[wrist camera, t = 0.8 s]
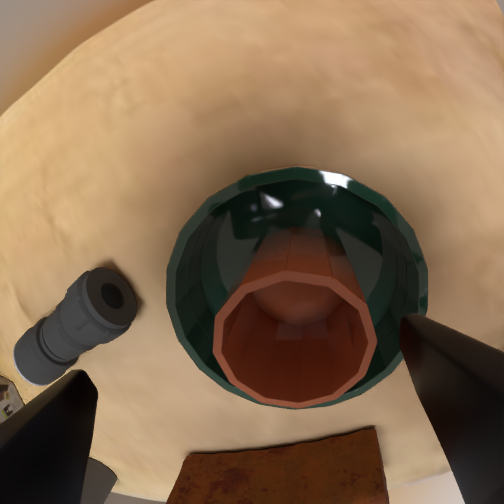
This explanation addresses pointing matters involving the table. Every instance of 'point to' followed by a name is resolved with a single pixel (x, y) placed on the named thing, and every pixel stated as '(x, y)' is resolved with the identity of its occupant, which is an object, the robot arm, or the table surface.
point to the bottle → (97, 483)
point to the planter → (281, 217)
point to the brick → (288, 474)
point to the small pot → (295, 322)
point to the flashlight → (76, 326)
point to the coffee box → (8, 399)
